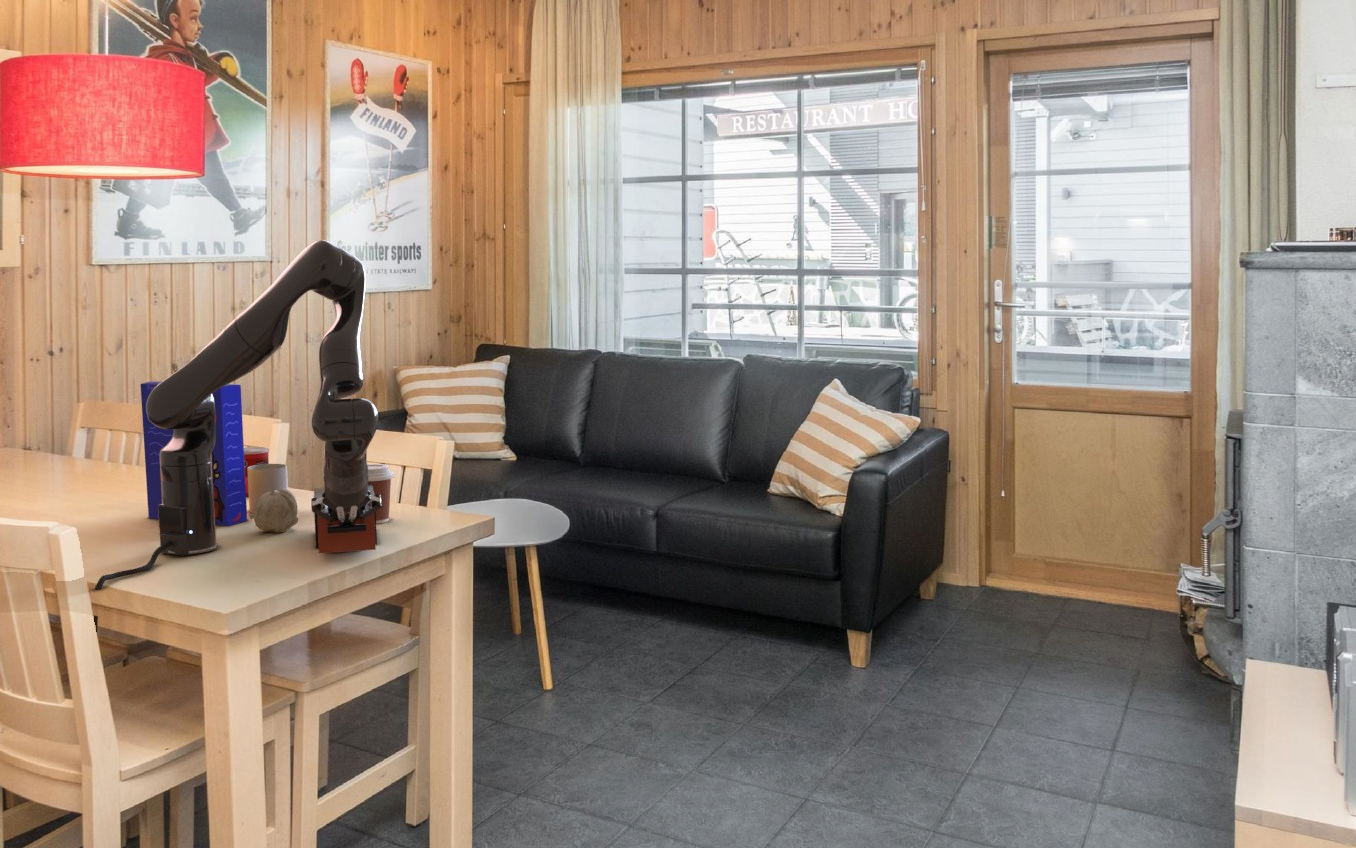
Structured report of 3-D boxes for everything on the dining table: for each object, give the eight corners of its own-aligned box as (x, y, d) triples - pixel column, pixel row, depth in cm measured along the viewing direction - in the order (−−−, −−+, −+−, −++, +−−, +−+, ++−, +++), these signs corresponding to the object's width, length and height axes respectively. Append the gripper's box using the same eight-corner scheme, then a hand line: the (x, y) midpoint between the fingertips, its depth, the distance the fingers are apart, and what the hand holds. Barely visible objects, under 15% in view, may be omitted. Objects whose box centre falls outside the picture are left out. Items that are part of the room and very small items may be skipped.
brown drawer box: (376, 555, 213) (375, 514, 212) (318, 559, 210) (317, 518, 209) (372, 535, 229) (371, 497, 228) (318, 538, 226) (317, 500, 225)
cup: (241, 511, 256) (239, 467, 255) (270, 505, 263) (268, 462, 262) (268, 515, 252) (266, 471, 251) (296, 508, 259) (294, 465, 258)
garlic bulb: (294, 538, 240) (309, 493, 241) (286, 541, 232) (301, 494, 233) (250, 526, 239) (265, 480, 240) (241, 528, 231) (256, 481, 232)
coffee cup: (378, 514, 253) (376, 461, 252) (404, 520, 247) (402, 466, 246) (343, 521, 246) (341, 467, 245) (368, 527, 240) (366, 471, 239)
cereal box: (247, 520, 247) (240, 383, 243) (227, 526, 241) (220, 386, 238) (169, 512, 255) (161, 380, 251) (148, 518, 249) (140, 382, 245)
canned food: (234, 492, 279) (231, 448, 277) (268, 489, 282) (266, 446, 281) (236, 497, 272) (233, 452, 270) (271, 495, 275) (269, 450, 274)
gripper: (383, 457, 205) (381, 510, 219) (306, 461, 201) (309, 514, 215) (385, 491, 201) (384, 543, 214) (307, 496, 197) (310, 548, 210)
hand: (347, 528), depth 215 cm, fingers closed
